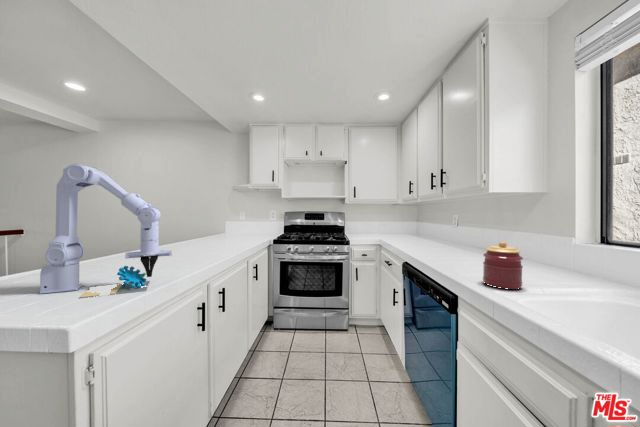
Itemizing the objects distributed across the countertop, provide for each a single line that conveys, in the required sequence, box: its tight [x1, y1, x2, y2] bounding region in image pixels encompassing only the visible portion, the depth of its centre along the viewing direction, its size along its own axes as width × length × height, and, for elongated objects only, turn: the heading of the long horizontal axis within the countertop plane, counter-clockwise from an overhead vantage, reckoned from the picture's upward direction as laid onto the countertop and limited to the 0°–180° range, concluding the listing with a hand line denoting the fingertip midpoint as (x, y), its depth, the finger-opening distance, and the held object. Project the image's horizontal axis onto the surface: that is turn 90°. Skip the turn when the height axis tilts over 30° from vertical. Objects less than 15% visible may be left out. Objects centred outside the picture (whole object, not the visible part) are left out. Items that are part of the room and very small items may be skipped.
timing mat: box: [78, 280, 151, 300], centre depth 95 cm, size 18×15×1 cm
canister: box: [482, 240, 524, 289], centre depth 106 cm, size 13×13×18 cm
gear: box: [116, 265, 147, 288], centre depth 97 cm, size 11×6×10 cm
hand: (149, 276), depth 99 cm, fingers closed
